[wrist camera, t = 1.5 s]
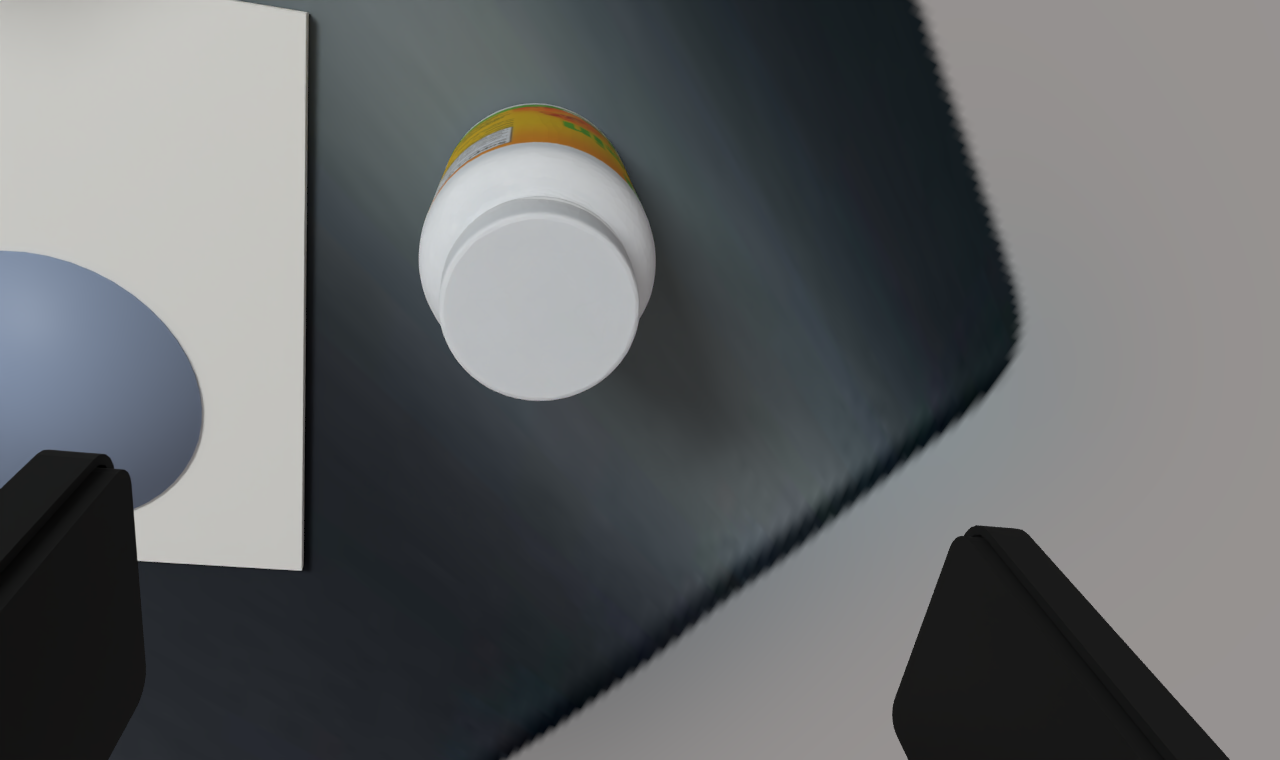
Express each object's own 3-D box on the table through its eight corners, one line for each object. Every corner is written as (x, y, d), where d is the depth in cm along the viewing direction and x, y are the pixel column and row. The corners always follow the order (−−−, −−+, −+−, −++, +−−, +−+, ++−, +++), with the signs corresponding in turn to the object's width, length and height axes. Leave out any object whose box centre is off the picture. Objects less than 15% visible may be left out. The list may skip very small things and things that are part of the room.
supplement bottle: (663, 208, 26) (729, 329, 18) (526, 314, 27) (525, 478, 19) (549, 59, 24) (560, 113, 16) (404, 180, 25) (340, 295, 17)
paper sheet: (-262, -83, 21) (-276, -83, 20) (308, 12, 23) (305, 13, 23) (-119, 539, 28) (-127, 547, 28) (303, 565, 30) (300, 572, 30)
